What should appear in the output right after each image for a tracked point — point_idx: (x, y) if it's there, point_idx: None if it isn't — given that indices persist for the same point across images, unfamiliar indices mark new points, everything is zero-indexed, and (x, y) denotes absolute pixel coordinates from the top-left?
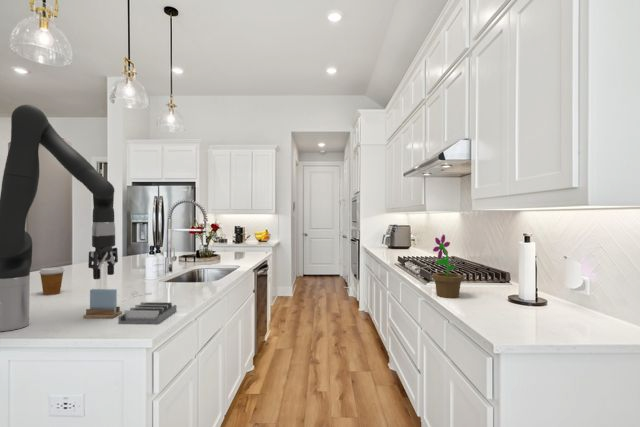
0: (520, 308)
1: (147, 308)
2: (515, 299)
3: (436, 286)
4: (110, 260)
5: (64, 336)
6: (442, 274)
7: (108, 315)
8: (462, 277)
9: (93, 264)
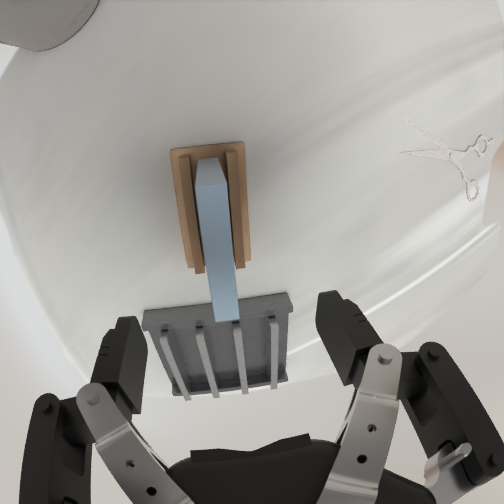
0: None
1: (206, 374)
2: None
3: None
4: (339, 434)
5: (25, 246)
6: None
7: (188, 249)
8: None
9: (91, 427)
